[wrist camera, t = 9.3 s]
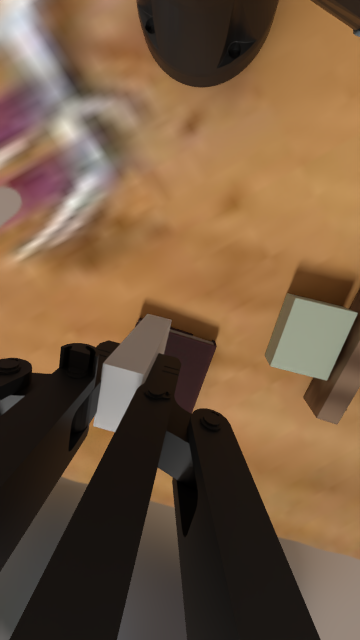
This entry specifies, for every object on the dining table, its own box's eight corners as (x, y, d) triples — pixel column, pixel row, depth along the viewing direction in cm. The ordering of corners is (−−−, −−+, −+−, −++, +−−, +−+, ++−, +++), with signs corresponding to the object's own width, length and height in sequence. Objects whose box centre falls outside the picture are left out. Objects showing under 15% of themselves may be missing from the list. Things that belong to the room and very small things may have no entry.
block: (286, 292, 36) (295, 297, 32) (341, 306, 35) (358, 312, 32) (264, 354, 39) (270, 366, 35) (315, 367, 38) (327, 380, 35)
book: (216, 339, 39) (217, 347, 36) (181, 436, 45) (179, 450, 41) (140, 315, 39) (135, 321, 36) (115, 414, 45) (108, 426, 42)
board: (366, 276, 34) (392, 280, 29) (387, 282, 34) (417, 288, 29) (303, 397, 40) (316, 417, 35) (321, 403, 39) (337, 424, 35)
